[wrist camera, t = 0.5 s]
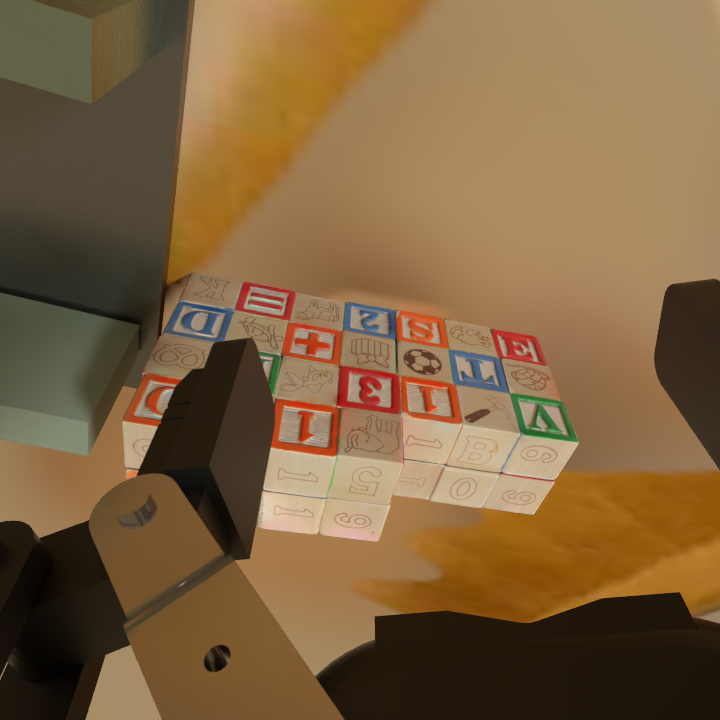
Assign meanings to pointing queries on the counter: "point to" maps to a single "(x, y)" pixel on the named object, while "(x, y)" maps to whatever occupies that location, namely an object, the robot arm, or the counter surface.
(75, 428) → the sliding jaw
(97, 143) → the vise
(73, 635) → the robot arm
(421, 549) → the counter surface
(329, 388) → the stack of blocks
